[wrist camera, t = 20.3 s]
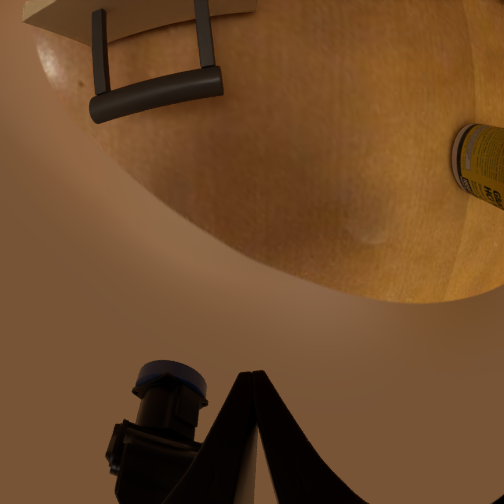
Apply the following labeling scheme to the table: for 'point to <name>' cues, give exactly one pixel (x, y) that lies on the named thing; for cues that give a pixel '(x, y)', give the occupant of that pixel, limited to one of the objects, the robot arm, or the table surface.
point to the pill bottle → (480, 162)
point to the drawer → (127, 23)
